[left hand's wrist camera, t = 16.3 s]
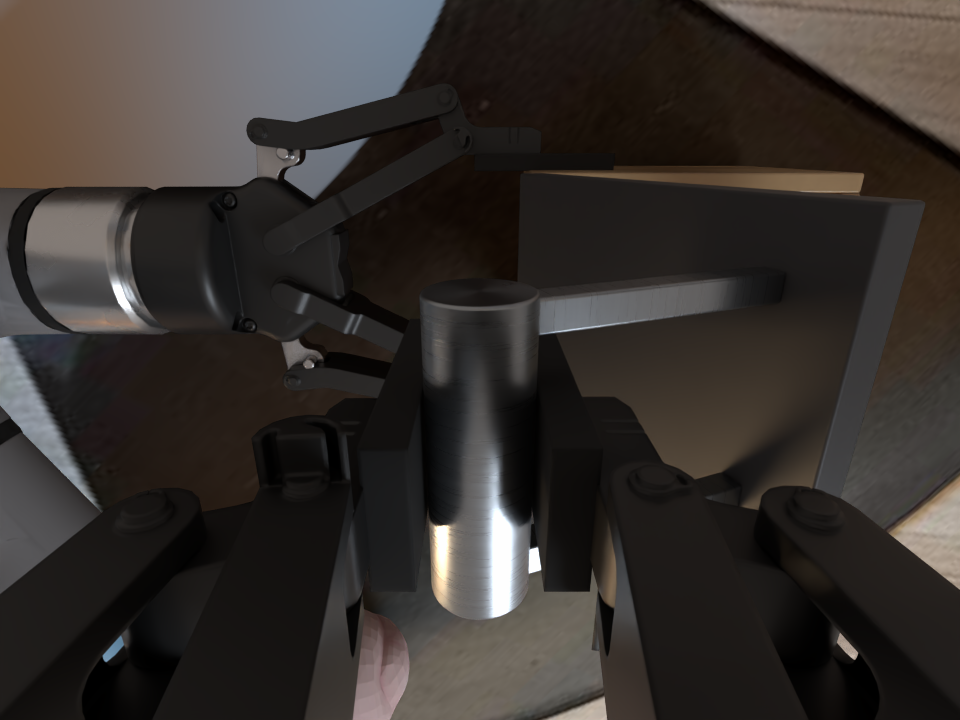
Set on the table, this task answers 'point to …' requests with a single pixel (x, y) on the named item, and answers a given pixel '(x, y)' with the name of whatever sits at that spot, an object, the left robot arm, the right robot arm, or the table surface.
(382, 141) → the table surface
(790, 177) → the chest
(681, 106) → the table surface
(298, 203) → the right robot arm
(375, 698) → the toy
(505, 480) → the lid
